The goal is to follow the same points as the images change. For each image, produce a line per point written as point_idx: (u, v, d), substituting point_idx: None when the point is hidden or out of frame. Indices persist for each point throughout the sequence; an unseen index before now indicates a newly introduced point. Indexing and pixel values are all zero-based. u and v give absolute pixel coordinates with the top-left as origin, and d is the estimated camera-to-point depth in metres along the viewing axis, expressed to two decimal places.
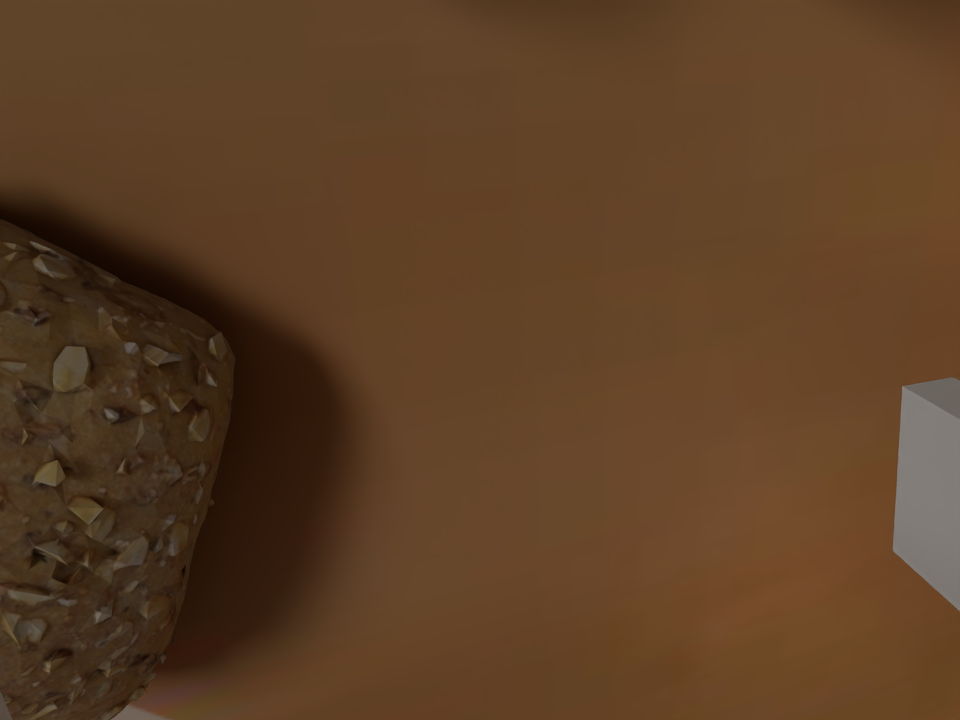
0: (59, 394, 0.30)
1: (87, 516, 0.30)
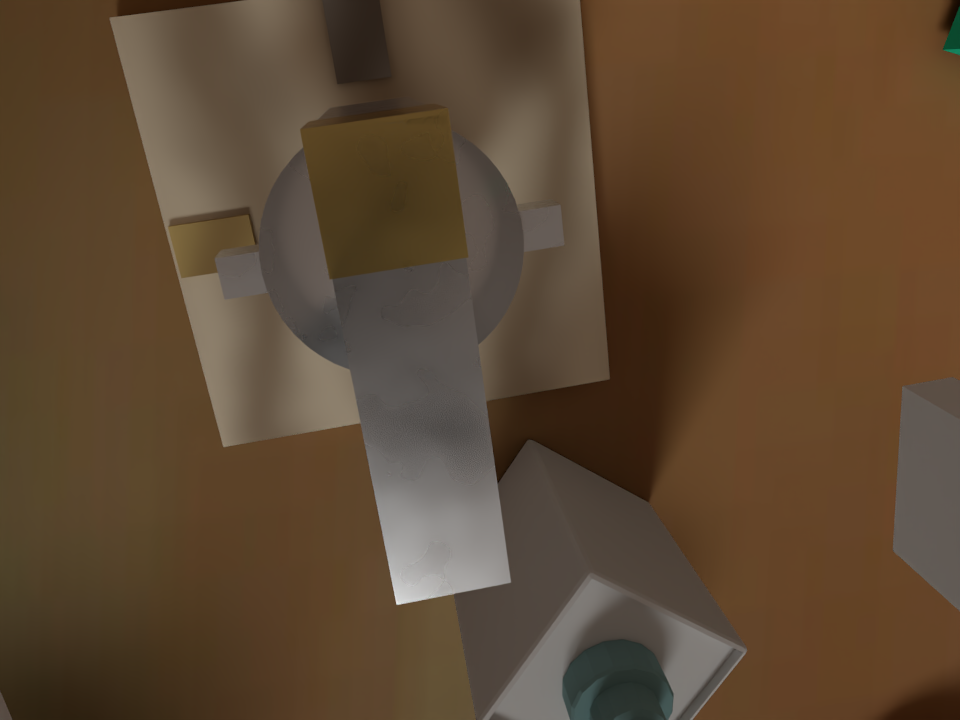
0: None
1: None
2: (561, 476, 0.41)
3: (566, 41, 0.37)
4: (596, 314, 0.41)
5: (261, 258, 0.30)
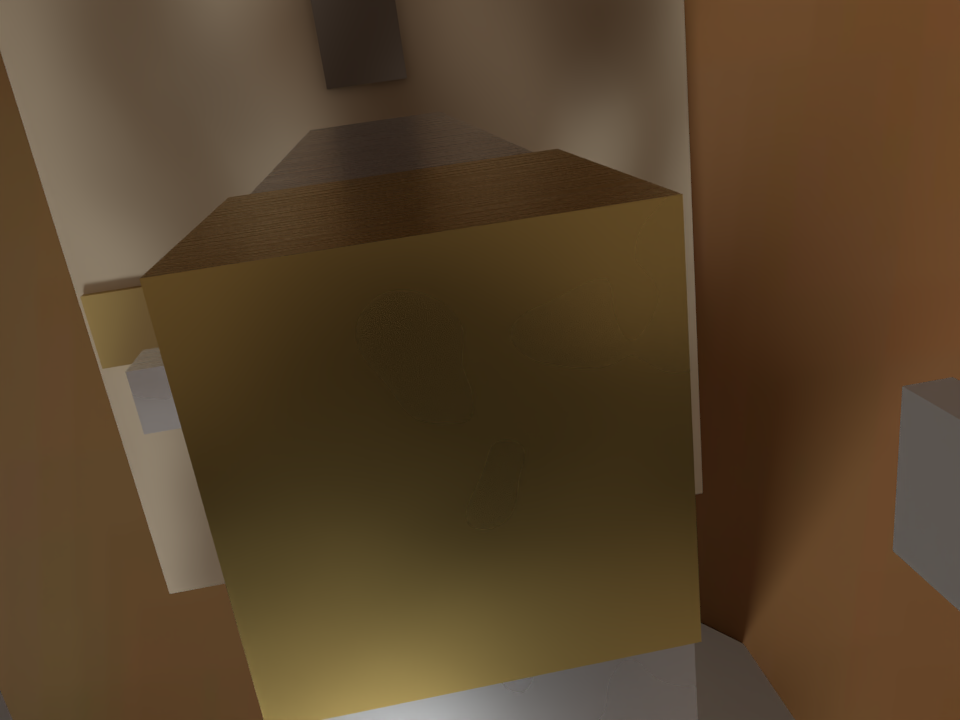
0: None
1: None
2: None
3: (661, 27, 0.25)
4: None
5: None
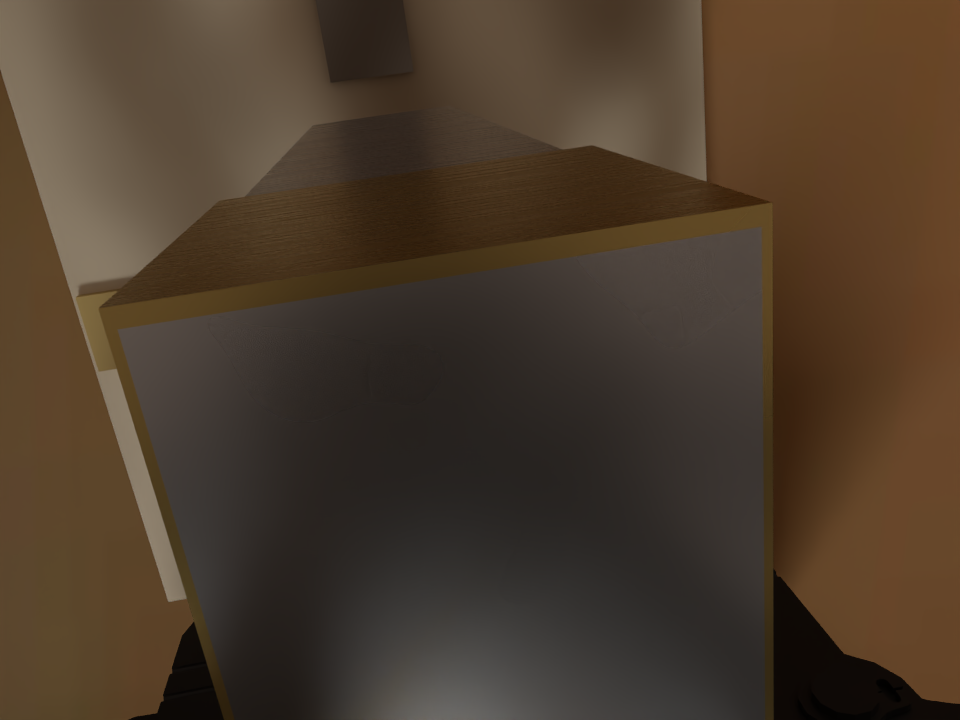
0: None
1: None
2: None
3: (677, 18, 0.24)
4: None
5: None
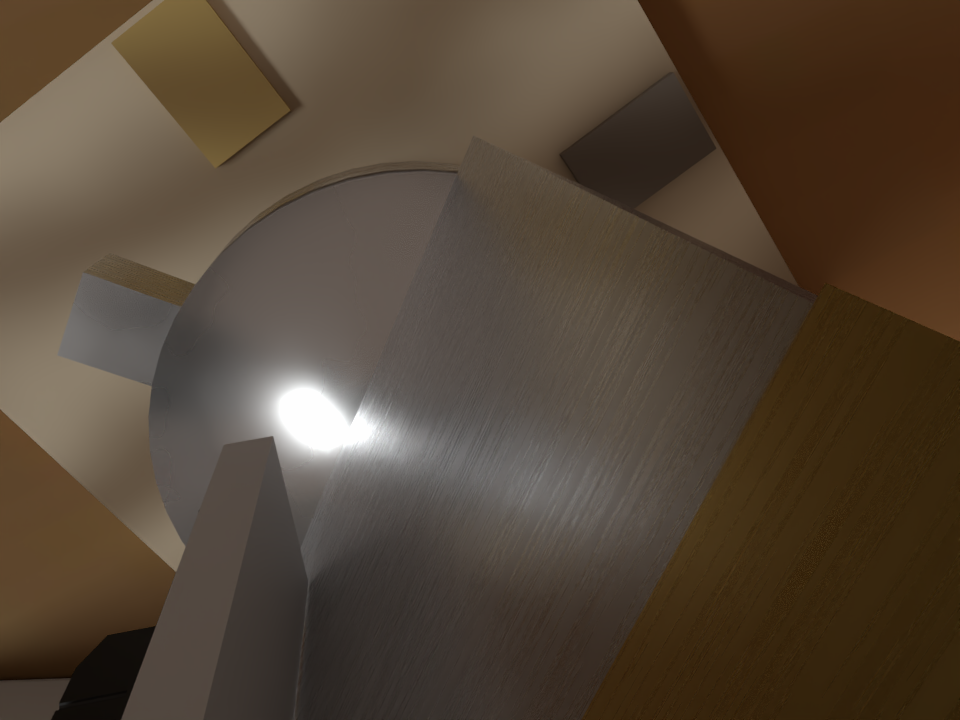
0: None
1: None
2: None
3: None
4: None
5: (177, 322, 0.14)
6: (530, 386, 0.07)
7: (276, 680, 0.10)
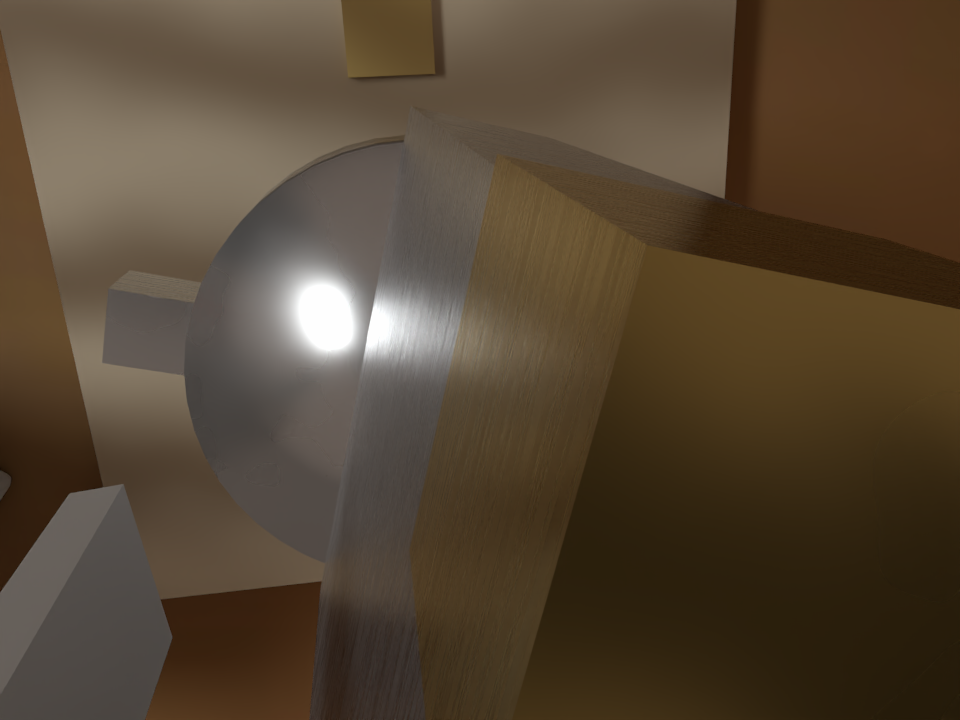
0: None
1: None
2: None
3: None
4: (238, 579, 0.27)
5: (194, 317, 0.16)
6: (423, 288, 0.09)
7: None
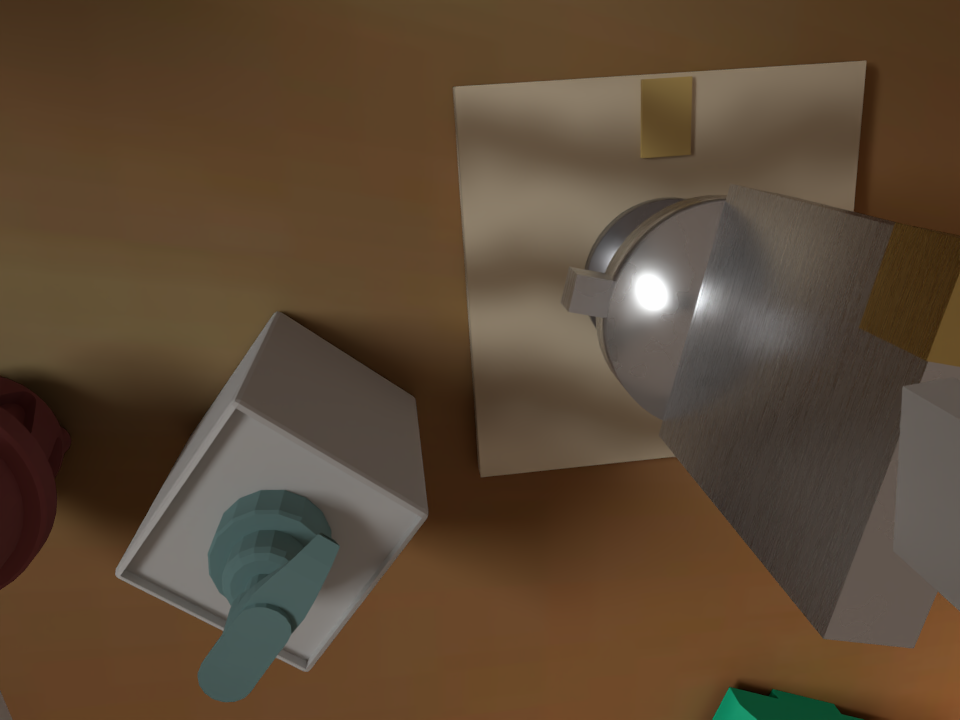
0: None
1: None
2: None
3: None
4: (547, 463, 0.44)
5: (617, 288, 0.33)
6: (821, 262, 0.25)
7: None
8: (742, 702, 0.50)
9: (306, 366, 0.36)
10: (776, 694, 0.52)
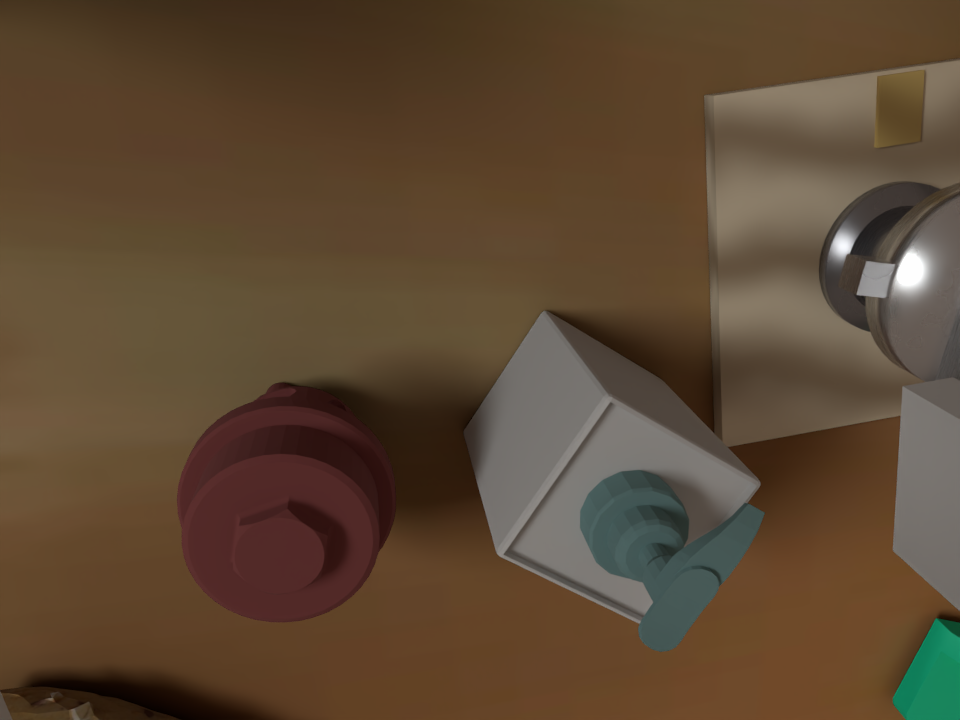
0: None
1: None
2: None
3: None
4: (781, 430, 0.48)
5: (901, 270, 0.37)
6: None
7: None
8: (952, 630, 0.54)
9: (602, 360, 0.40)
10: None
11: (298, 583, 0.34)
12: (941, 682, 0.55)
